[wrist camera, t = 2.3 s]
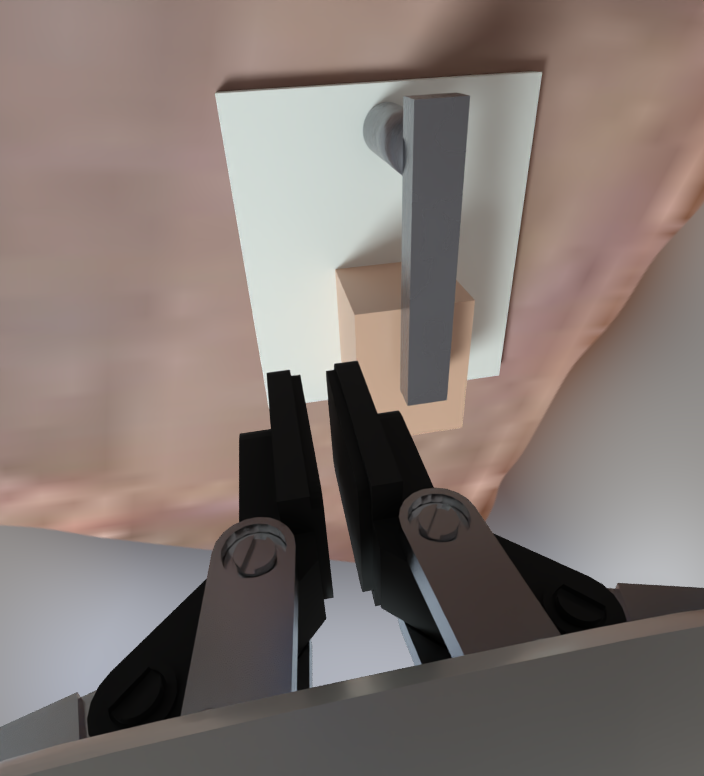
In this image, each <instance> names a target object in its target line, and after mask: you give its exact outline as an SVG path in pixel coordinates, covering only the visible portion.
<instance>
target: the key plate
mask: <svg viewBox="0 0 704 776" xmlns="http://www.w3.org/2000/svg"><path fill="white" fill-rule="evenodd" d="M541 77H542V72H535V71H529V72H514V73H498V74H483V75H467V76H452V77H437V78H421V79H406V80H391V81H375V82H360V83H344V84H329V85H314V86H298V87H283V88H268V89H252V90H237V91H221V92H216V93H215V96H216V102H217V108H218V114H219V120H220V125H221V131H222V137H223V143H224V149H225V155H226V161H227V166H228V172H229V178H230V184H231V190H232V196H233V201H234V207H235V213H236V219H237V225H238V231H239V237H240V242H241V248H242V254H243V260H244V266H245V272H246V277H247V283H248V289H249V295H250V301H251V307H252V313H253V318H254V324H255V330H256V336H257V342H258V348H259V354H260V359H261V365H262V371H263V377H264V383H265V389H266V394H267V400H268V406H269V398H268V386H267V373H268V372H275V371H283V370H290V372H291V376H293V375H300V376H301V381H302V386H303V392H304V397H305V403H308V402H315V401H322V400H328V393H327V382H326V371H330V370H334V364H335V363H341V350H340V335H339V320H338V305H337V290H336V274H335V269H342V268H351V267H360V266H369V265H378V264H388V263H397V262H402V177H403V176H402V175H401V174H400V173H398V172H397V171H396V170H395V169H393V168H392V167H391V166H390V165H389V164H387V163H386V162H385V161H384V160H382V159H381V158H380V157H379V156H377V155H376V154H375V153H374V152H373V151H371V150H370V149H369V148H368V146H367V145H366V143H365V140H364V137H363V124H364V120H365V118H366V116H367V114H368V113H369V111H370V110H371V109H372V108H373V107H374V106H376V105H378V104H380V103H383V102H393V103H396V104H398V105H401V106H403V96H412V95H427V94H441V93H461V94H465V95H470V105H469V118H468V132H467V145H466V158H465V171H464V184H463V197H462V210H461V224H460V237H459V250H458V263H457V276H456V280H457V281H458V282H459V283H460V284H461V285H462V287H463V288H464V289H465V290H466V291H467V292H468V293H469V294H470V295H471V296H472V297H473V299H474V300H475V306H474V316H473V325H472V335H471V345H470V355H469V365H468V375H467V380H470V379H477V378H484V377H491V376H498V375H499V372H500V365H501V358H502V350H503V343H504V336H505V329H506V322H507V315H508V308H509V301H510V294H511V287H512V280H513V273H514V266H515V259H516V252H517V245H518V238H519V231H520V224H521V217H522V210H523V203H524V196H525V189H526V182H527V175H528V168H529V161H530V154H531V147H532V140H533V133H534V126H535V119H536V112H537V105H538V98H539V91H540V84H541Z"/></svg>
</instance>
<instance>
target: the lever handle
mask: <svg viewBox="0 0 704 776" xmlns="http://www.w3.org/2000/svg"><path fill="white" fill-rule="evenodd" d="M469 105H470V95H465V94H461V93H441V94H427V95H412V96H403V106H401V105H398V104H396V103H393V102H383V103H380V104H378V105H376V106H374V107H373V108H372V109H371V110H370V111H369V113H368V114H367V116H366V118H365V120H364V124H363V137H364V140H365V143H366V145H367V146H368V148H369V149H370V150H371V151H373V152H374V153H375V154H376V155H377V156H379V157H380V158H381V159H382V160H384V161H385V162H386V163H387V164H389V165H390V166H391V167H392V168H393V169H395V170H396V171H397V172H398V173H400V174H401V175H402V176H403V177H402V266H401V354H400V391H401V393H402V395H403V397H404V400H405V402H406V404H407V406H411V405H418V404H425V403H432V402H438V401H445V400H447V394H448V381H449V368H450V355H451V342H452V329H453V316H454V302H455V289H456V276H457V263H458V250H459V237H460V224H461V210H462V197H463V184H464V171H465V158H466V145H467V132H468V118H469Z"/></svg>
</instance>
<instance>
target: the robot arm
mask: <svg viewBox="0 0 704 776" xmlns="http://www.w3.org/2000/svg"><path fill="white" fill-rule="evenodd" d="M326 382H327V393H328V405H329V416H330V427H331V439H332V450H333V461H334V468H335V473H336V477H337V482H338V486H339V491H340V495H341V500H342V504H343V509H344V513H345V518H346V522H347V527H348V531H349V536H350V540H351V545H352V549H353V554H354V558H355V563H356V567H357V571H358V576H359V580H360V584H361V589H362V591H363V592H365V591H370V590H372V594H373V599H374V603H375V606H378V605H381V608H382V609H384V610H386V611H388V612H389V613H391V614H393V615H394V616H396V617H398V622H399V626H400V630H401V632H402V635H403V637H404V640H405V642H406V645H407V647H408V650H409V652H410V655H411V657H412V660H413V662H414V665H415V666H412V667H407V668H402V669H398V670H393V671H388V672H383V673H379V674H374V675H369V676H365V677H360V678H356V679H351V680H346V681H341V682H337V683H332V684H327V685H323V686H318V687H313V688H312V642H311V638H312V637H313V635H314V634H315V633H316V631H317V630H318V629H319V628H320V626H321V625H322V624H323V622H324V621H325V620H326V614H325V605H324V599H328V598H333V588H332V578H331V569H330V560H329V551H328V542H327V533H326V524H325V514H324V505H323V498H322V491H321V485H320V479H319V474H318V468H317V463H316V457H315V452H314V446H313V441H312V435H311V430H310V425H309V419H308V414H307V408H306V403H305V397H304V392H303V386H302V381H301V376H300V375H293V376H291V372H290V370H283V371H275V372H268V373H267V386H268V398H269V411H270V423H271V429H268V430H262V431H255V432H248V433H241V434H240V436H239V523H236V524H234V525H233V526H231V527H230V528H229V529H227V530H226V531H225V532H223V534H222V535H221V536H220V537H219V539H218V540H217V541H216V543H215V546H214V548H213V551H212V554H211V560H210V565H209V570H208V576H207V579H206V580H205V581H204V582H203V583H202V584H201V585H200V586H199V587H198V588H197V589H196V590H194V592H193V593H192V594H190V595H189V596H188V597H187V598H186V599H185V600H184V601H183V602H182V603H181V604H180V605H179V606H178V607H177V608H176V609H175V610H174V611H173V612H172V613H171V614H170V615H169V616H168V617H167V618H166V619H165V620H164V621H163V622H162V623H161V624H160V625H159V626H157V627H156V628H155V629H154V630H153V631H152V632H151V633H150V634H149V635H148V636H147V637H146V638H145V639H144V640H143V641H142V642H141V643H140V644H139V645H138V646H137V647H136V648H135V649H134V650H133V651H132V652H131V653H130V654H129V655H128V656H127V657H126V658H125V659H123V660H122V661H121V663H119V664H118V665H117V666H116V667H115V668H114V669H113V670H112V671H111V672H110V674H109V675H108V676H107V677H106V678H105V679H104V681H103V682H102V683H101V684H100V685H99V687H98V689H97V690H96V691H94V692H92V693H89V694H88V695H85V696H83V697H80V695H79V694H78V693H74V694H72V695H70V696H68V697H65V698H64V699H61V700H59V701H57V702H54V703H52V704H50V705H48V706H46V707H43V708H41V709H39V710H37V711H35V712H32V713H30V714H28V715H26V716H24V717H21V718H19V719H17V720H15V721H13V722H10V723H8V724H6V725H4V726H2V727H0V776H704V588H696V587H679V586H661V585H642V584H627V583H618V584H617V586H616V588H615V589H612V588H606V587H605V586H604V585H603V584H601V583H599V582H597V581H596V580H594V579H592V578H591V577H589V576H587V575H584V574H582V573H580V572H578V571H575V570H573V569H571V568H569V567H567V566H564V565H562V564H560V563H558V562H556V561H553V560H551V559H549V558H547V557H545V556H542V555H540V554H538V553H536V552H533V551H531V550H529V549H527V548H525V547H522V546H520V545H518V544H516V543H513V542H511V541H509V540H507V539H505V538H502V537H500V536H498V535H496V534H494V533H492V531H491V530H490V528H489V527H488V525H487V524H486V522H485V521H484V519H483V518H482V516H481V515H480V513H479V512H478V510H477V509H476V507H475V506H474V505H473V504H472V503H471V502H470V501H469V500H468V499H467V498H466V497H464V496H462V495H461V494H459V493H457V492H454V491H451V490H448V489H443V488H434V487H433V485H432V483H431V480H430V478H429V476H428V473H427V471H426V469H425V467H424V464H423V462H422V460H421V457H420V455H419V453H418V451H417V448H416V446H415V444H414V441H413V439H412V437H411V434H410V432H409V430H408V428H407V425H406V423H405V421H404V418H403V416H402V414H401V413H400V411H398V410H397V411H390V412H384V413H377V410H376V408H375V405H374V402H373V400H372V397H371V394H370V392H369V389H368V386H367V384H366V381H365V378H364V376H363V373H362V370H361V368H360V365H359V362H358V361H350V362H343V363H335V364H334V370H330V371H326Z"/></svg>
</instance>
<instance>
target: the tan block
mask: <svg viewBox="0 0 704 776" xmlns="http://www.w3.org/2000/svg"><path fill="white" fill-rule="evenodd" d="M401 266H402V262H397V263H388V264H378V265H369V266H360V267H351V268H342V269H335V274H336V290H337V305H338V320H339V335H340V350H341V363H343V362H350V361H358V362H359V365H360V368H361V370H362V373H363V376H364V378H365V381H366V384H367V386H368V389H369V392H370V394H371V397H372V400H373V402H374V405H375V408H376V410H377V413H384V412H390V411H397V410H398V411H400V413H401V414H402V416H403V418H404V421H405V423H406V425H407V428H408V430H409V432H410V434H411V435H418V434H424V433H431V432H437V431H444V430H450V429H457V428H462V425H463V415H464V405H465V395H466V385H467V375H468V365H469V355H470V345H471V335H472V325H473V316H474V306H475V300H474V299H473V297H472V296H471V295H470V294H469V293H468V292H467V291H466V290H465V289H464V288H463V287H462V285H461V284H460V283H459V282H458V281H457V280H456V289H455V302H454V316H453V329H452V342H451V355H450V368H449V381H448V394H447V400H445V401H438V402H432V403H425V404H418V405H411V406H407V404H406V402H405V400H404V397H403V395H402V393H401V391H400V354H401Z"/></svg>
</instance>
